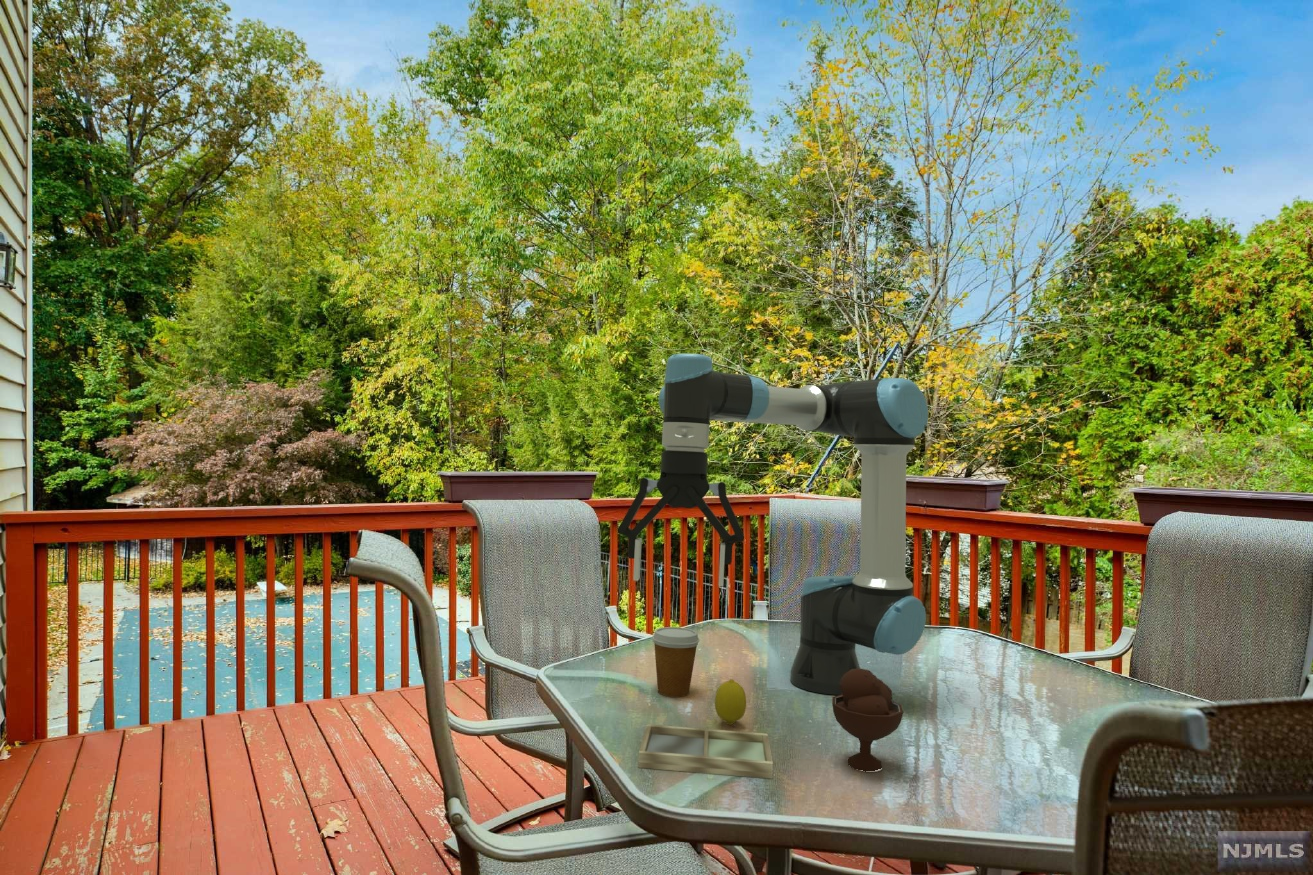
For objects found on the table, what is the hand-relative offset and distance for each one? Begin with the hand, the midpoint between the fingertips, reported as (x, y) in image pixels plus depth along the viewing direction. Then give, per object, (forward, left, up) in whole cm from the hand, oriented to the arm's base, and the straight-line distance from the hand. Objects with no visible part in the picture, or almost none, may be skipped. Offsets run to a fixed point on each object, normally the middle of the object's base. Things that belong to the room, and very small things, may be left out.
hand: (678, 582), depth 117 cm
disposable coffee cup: (+1, -30, -27) cm, 40 cm away
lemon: (-10, -14, -27) cm, 32 cm away
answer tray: (-6, +1, -27) cm, 27 cm away
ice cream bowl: (-31, -1, -27) cm, 41 cm away
